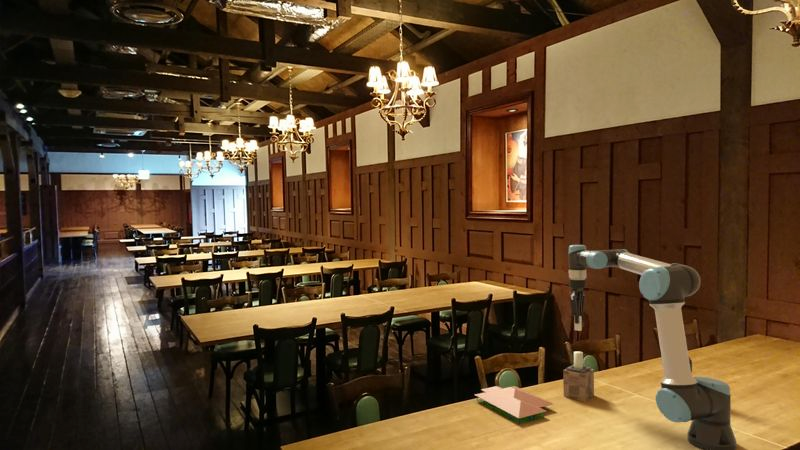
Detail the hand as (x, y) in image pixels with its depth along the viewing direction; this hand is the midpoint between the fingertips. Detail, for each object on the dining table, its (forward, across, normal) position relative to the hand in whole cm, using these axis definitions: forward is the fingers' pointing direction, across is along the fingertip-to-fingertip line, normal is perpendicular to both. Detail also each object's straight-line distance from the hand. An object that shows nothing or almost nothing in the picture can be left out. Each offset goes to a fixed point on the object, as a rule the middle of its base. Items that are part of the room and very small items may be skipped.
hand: (578, 330), depth 232 cm
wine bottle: (+31, -27, +36) cm, 54 cm away
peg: (+22, 0, 0) cm, 22 cm away
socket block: (+30, 0, 0) cm, 30 cm away
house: (+31, +30, -16) cm, 46 cm away
